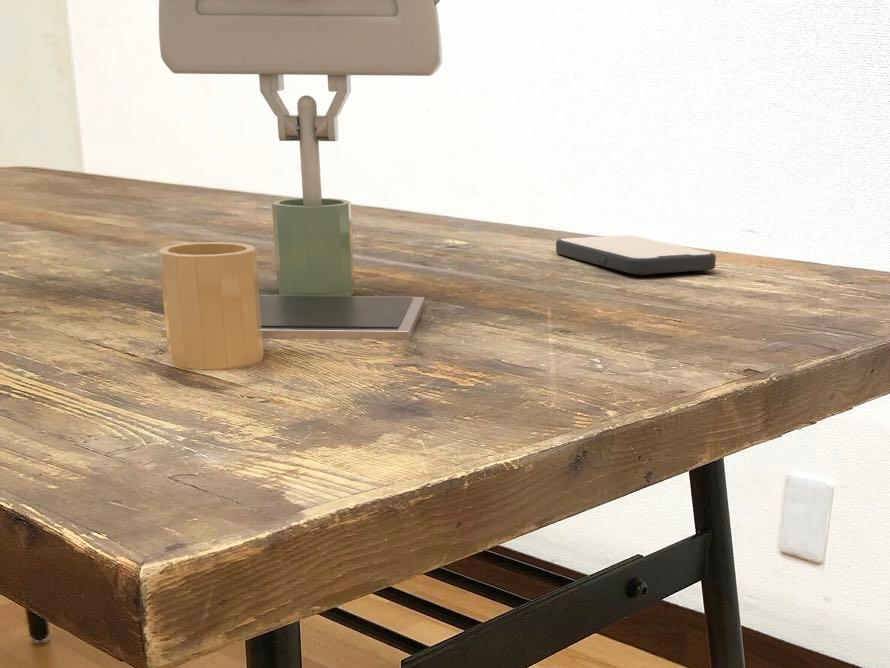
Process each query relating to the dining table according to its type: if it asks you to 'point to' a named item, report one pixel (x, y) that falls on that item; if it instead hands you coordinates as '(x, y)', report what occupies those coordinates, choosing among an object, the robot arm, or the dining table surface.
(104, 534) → the dining table surface
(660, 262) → the phone case
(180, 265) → the pen stand
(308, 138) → the stylus
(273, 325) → the tablet
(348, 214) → the pen cup
